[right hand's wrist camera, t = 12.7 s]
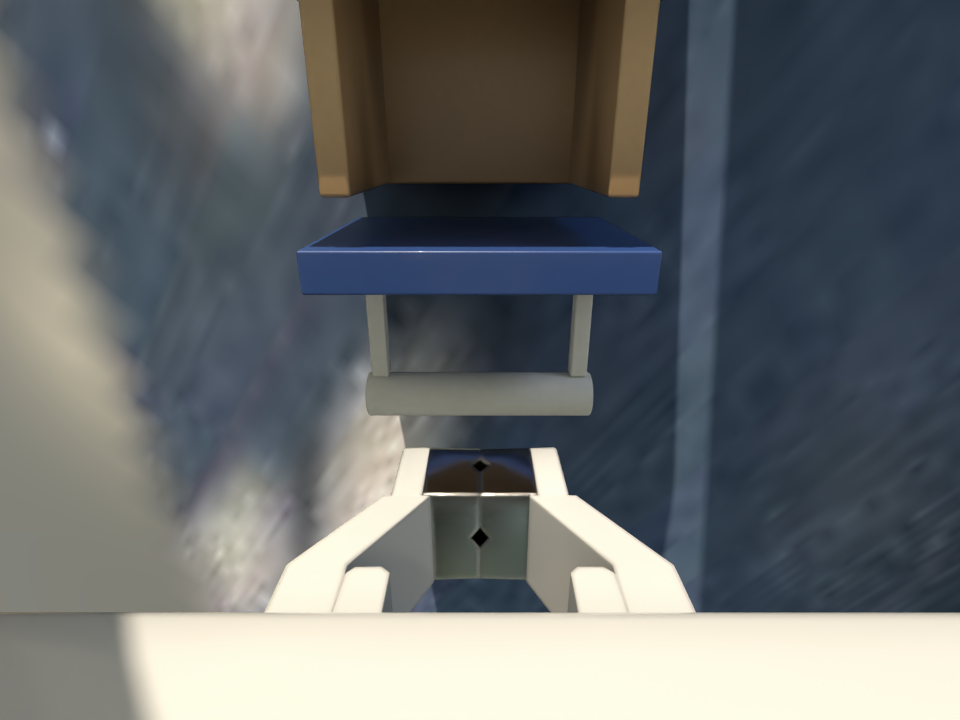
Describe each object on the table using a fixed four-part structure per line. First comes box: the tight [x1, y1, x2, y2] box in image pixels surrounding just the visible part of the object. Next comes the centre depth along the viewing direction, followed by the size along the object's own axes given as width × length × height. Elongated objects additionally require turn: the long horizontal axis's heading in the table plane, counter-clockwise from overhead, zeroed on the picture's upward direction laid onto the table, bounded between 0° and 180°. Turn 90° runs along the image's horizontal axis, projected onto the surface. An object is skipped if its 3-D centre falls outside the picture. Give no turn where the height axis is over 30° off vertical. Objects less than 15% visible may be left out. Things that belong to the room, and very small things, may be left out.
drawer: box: [296, 0, 662, 416], centre depth 15 cm, size 24×10×8 cm, turn 0°
